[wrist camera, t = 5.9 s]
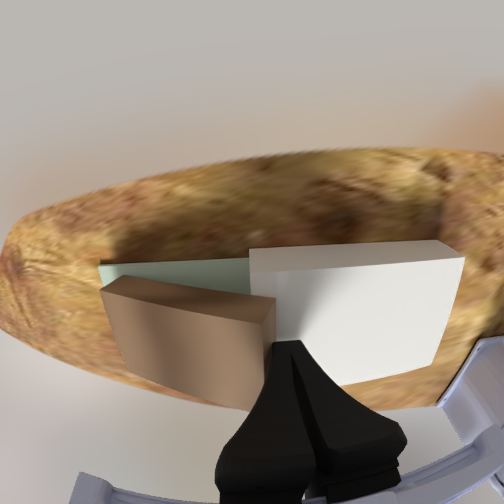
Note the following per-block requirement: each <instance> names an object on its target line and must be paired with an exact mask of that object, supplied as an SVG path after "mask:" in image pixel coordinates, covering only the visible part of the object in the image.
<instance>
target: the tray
mask: <svg viewBox="0 0 504 504" xmlns="http://www.w3.org/2000/svg"><path fill="white" fill-rule="evenodd" d="M464 261H465V257H464V256H463V255H461V254H460V253H458V252H457V251H455V250H453V249H452V248H450V247H448V246H447V245H445V244H444V243H442V242H440V241H439V240H419V241H398V242H376V243H355V244H335V245H314V246H294V247H275V248H255V249H249V264H250V286H251V295H255V296H263V297H271V298H276V341H289V340H301V341H302V342H303V344H304V345H305V347H306V348H307V350H308V351H309V353H310V354H311V355H312V357H313V358H314V359H315V361H316V362H317V363H318V364H319V366H320V367H321V368H322V369H323V370H324V372H325V373H326V374H327V375H328V376H329V377H330V378H331V379H332V380H333V381H334V382H335V383H336V384H337V385H338V386H342V385H348V384H353V383H359V382H364V381H369V380H374V379H378V378H383V377H387V376H391V375H395V374H399V373H403V372H407V371H411V370H415V369H418V368H422V367H425V366H428V365H431V363H432V361H433V358H434V356H435V353H436V351H437V348H438V346H439V343H440V341H441V338H442V336H443V333H444V330H445V327H446V324H447V322H448V319H449V316H450V313H451V309H452V306H453V303H454V300H455V296H456V293H457V289H458V285H459V282H460V278H461V274H462V269H463V265H464Z"/></svg>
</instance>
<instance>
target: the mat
mask: <svg viewBox="0 0 504 504" xmlns="http://www.w3.org/2000/svg"><path fill="white" fill-rule="evenodd" d="M98 269H99V273H100V276H101V280H102V284H103V287H105V286H106V285H108V284H109V283H111V282H112V281H114V280H115V279H117V278H119V277H120V276H122V275H127V276H132V277H138V278H143V279H149V280H155V281H161V282H167V283H173V284H179V285H185V286H191V287H198V288H205V289H211V290H218V291H225V292H233V293H240V294H247V295H251V286H250V264H249V258H231V259H211V260H190V261H170V262H148V263H126V264H103V265H99V266H98Z"/></svg>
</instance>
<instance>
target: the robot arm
mask: <svg viewBox="0 0 504 504" xmlns="http://www.w3.org/2000/svg"><path fill="white" fill-rule="evenodd" d="M436 407H437V408H440V407H442V408H443V410H444V412H445V413H446V415H447V417H448V419H449V420H450V422H451V424H452V426H453V427H454V429H455V431H456V433H457V435H458V436H459V438H460V440H461V442H462V443H463V444H464V445H465V446H464V447H463V448H461V449H459V450H457V451H455V452H453V453H451V454H450V455H447V456H445V457H443V458H441V459H439V460H437V461H435V462H433V463H430V464H428V465H426V466H424V467H421V468H419V469H417V470H414V471H411V472H409V473H406V474H404V475H401V476H400V474H399V472H398V469H397V467H398V466H399V462H398V460H397V457H398V456H399V455H400V454H401V452H402V451H403V450H404V448H405V446H406V445H407V438H406V436H405V434H404V432H403V430H402V429H401V427H400V426H399V424H398V422H395V421H393V420H391V419H389V418H386V417H384V416H382V415H380V414H378V413H376V412H374V411H372V410H370V409H369V408H367V407H366V406H364V405H363V404H361V403H360V402H358V401H357V400H355V399H354V398H352V397H351V396H350V395H349V394H347V393H346V392H345V391H344V390H343V389H341V388H340V387H339V386H338V385H337V384H336V383H335V382H334V381H333V380H332V379H331V378H330V377H329V376H328V375H327V374H326V373H325V372H324V370H323V369H322V368H321V367H320V366H319V364H318V363H317V362H316V361H315V359H314V358H313V357H312V355H311V354H310V353H309V351H308V350H307V348H306V347H305V345H304V344H303V342H302V341H301V340H289V341H276V342H273V343H272V356H271V362H270V366H269V370H268V373H267V376H266V379H265V382H264V385H263V387H262V390H261V392H260V394H259V396H258V398H257V400H256V402H255V404H254V406H253V408H252V410H251V411H250V413H249V415H248V416H247V418H246V419H245V421H244V422H243V424H242V425H241V427H240V428H239V429H238V431H237V432H236V433H235V434H234V436H233V437H232V438H231V439H230V440H229V441H228V442H227V444H226V445H225V446H224V448H223V450H222V452H221V454H220V456H219V459H218V462H217V465H216V469H215V484H216V486H217V488H218V490H219V492H220V503H219V504H450V503H451V502H453V501H455V500H457V499H458V498H460V497H462V496H463V495H465V494H466V493H468V492H469V491H471V490H472V489H474V488H476V487H477V486H479V485H480V484H481V483H483V482H484V481H486V480H487V479H488V481H489V483H490V484H491V486H493V488H494V489H496V490H497V491H498V492H499V494H500V495H501V496H502V498H503V500H504V336H497V337H490V338H483V339H480V340H478V342H477V343H476V345H475V347H474V348H473V350H472V352H471V354H470V355H469V357H468V359H467V360H466V362H465V363H464V365H463V367H462V368H461V370H460V371H459V373H458V374H457V376H456V377H455V379H454V380H453V382H452V383H451V385H450V386H449V388H448V389H447V390H446V392H445V393H444V394H443V396H442V397H441V399H440V400H439V401H438V402H437V404H436ZM304 492H305V500H302V497H303V495H304ZM69 504H217V503H201V502H191V501H182V500H174V499H167V498H161V497H155V496H150V495H145V494H140V493H136V492H132V491H127V490H123V489H119V488H116V487H113V486H112V485H111V484H110V483H109V482H108V481H106V480H104V479H101V478H98V477H96V476H92V475H89V474H87V473H84V472H79V475H78V477H77V480H76V483H75V486H74V489H73V492H72V496H71V499H70V502H69Z"/></svg>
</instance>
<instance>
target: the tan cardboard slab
mask: <svg viewBox="0 0 504 504" xmlns="http://www.w3.org/2000/svg"><path fill="white" fill-rule="evenodd" d="M99 291H100V294H101V297H102V301H103V304H104V307H105V310H106V313H107V316H108V319H109V322H110V325H111V328H112V330H113V333H114V336H115V339H116V341H117V344H118V346H119V349H120V351H121V354H122V356H123V359H124V361H125V364H126V366H127V368H128V371H129V372H131V373H133V374H135V375H138V376H140V377H143V378H145V379H147V380H150V381H153V382H155V383H158V384H160V385H163V386H166V387H168V388H171V389H174V390H177V391H179V392H182V393H185V394H188V395H191V396H194V397H197V398H201V399H204V400H207V401H211V402H214V403H217V404H221V405H225V406H228V407H232V408H236V409H240V410H244V411H248V412H250V411H251V410H252V408H253V406H254V404H255V402H256V400H257V398H258V396H259V394H260V392H261V390H262V387H263V385H264V382H265V379H266V376H267V373H268V370H269V366H270V362H271V356H272V343H273V342H276V298H271V297H263V296H255V295H247V294H240V293H233V292H225V291H218V290H211V289H205V288H198V287H191V286H185V285H179V284H173V283H167V282H161V281H155V280H149V279H143V278H138V277H132V276H127V275H122V276H120V277H119V278H117V279H115V280H114V281H112V282H111V283H109V284H108V285H106V286H105V287H103V288H102V289H100V290H99Z"/></svg>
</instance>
